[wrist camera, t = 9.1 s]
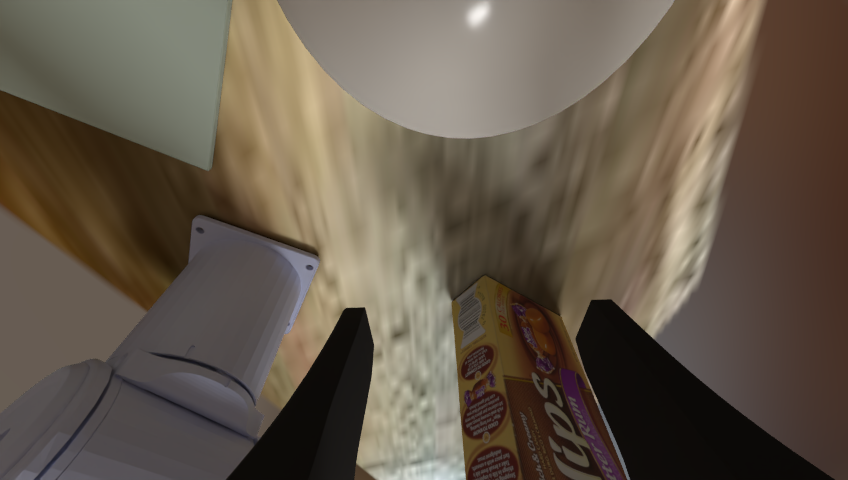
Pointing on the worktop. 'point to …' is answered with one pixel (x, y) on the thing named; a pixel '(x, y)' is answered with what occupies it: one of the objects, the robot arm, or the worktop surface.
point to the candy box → (524, 393)
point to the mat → (122, 67)
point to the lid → (471, 56)
